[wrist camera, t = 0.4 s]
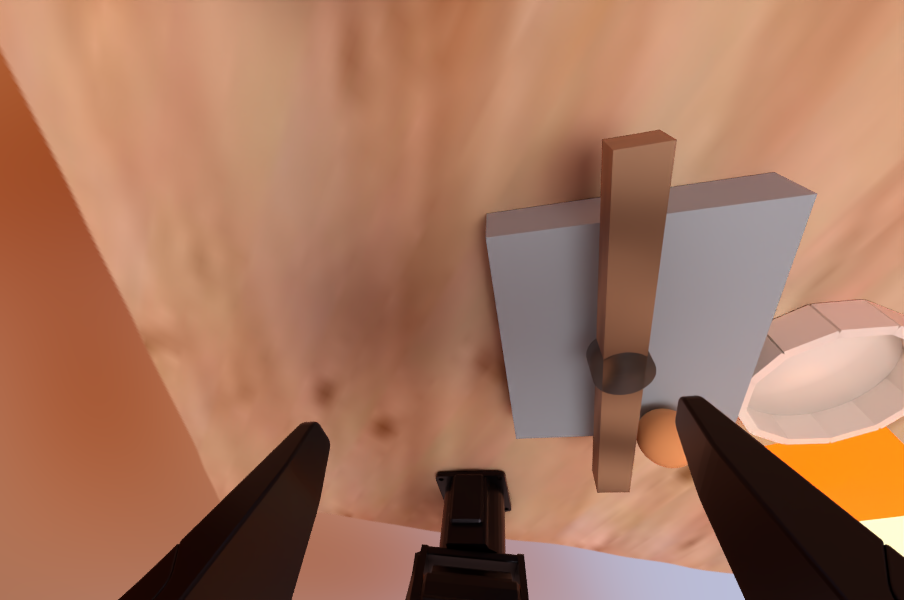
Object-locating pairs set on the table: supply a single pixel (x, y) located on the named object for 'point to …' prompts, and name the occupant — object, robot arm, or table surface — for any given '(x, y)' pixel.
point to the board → (676, 304)
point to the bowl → (827, 374)
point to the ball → (661, 438)
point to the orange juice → (857, 478)
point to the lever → (626, 295)
